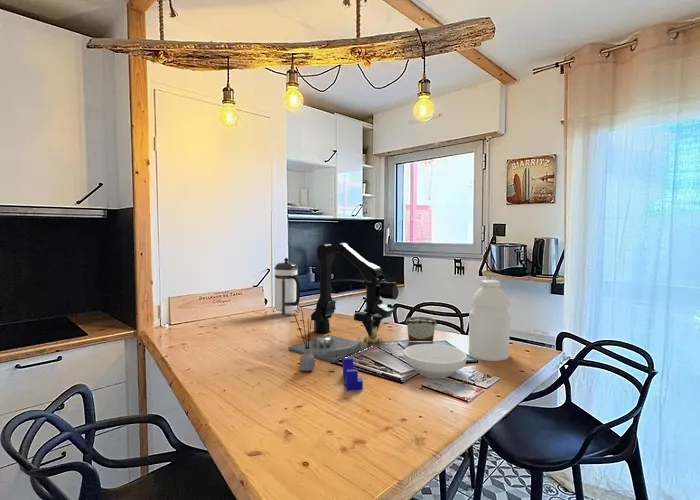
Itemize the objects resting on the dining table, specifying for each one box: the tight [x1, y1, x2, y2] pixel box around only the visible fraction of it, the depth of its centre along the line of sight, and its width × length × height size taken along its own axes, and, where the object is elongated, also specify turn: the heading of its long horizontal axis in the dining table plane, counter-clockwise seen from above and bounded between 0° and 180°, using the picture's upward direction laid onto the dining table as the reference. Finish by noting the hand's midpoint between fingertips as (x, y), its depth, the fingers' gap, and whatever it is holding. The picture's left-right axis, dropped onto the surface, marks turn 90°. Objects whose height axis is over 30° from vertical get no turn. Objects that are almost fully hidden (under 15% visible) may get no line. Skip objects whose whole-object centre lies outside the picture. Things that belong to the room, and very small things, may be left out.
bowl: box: [403, 343, 468, 379], centre depth 125 cm, size 20×20×7 cm
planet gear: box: [362, 325, 383, 344], centre depth 162 cm, size 8×8×6 cm
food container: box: [405, 316, 438, 343], centre depth 161 cm, size 12×6×10 cm, turn 84°
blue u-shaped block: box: [342, 356, 364, 392], centre depth 118 cm, size 12×4×6 cm, turn 6°
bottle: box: [467, 279, 511, 362], centre depth 142 cm, size 14×14×28 cm
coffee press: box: [272, 257, 301, 316], centre depth 215 cm, size 17×16×30 cm
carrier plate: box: [288, 334, 374, 364], centre depth 152 cm, size 23×23×4 cm
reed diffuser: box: [293, 308, 316, 372], centre depth 128 cm, size 10×7×20 cm
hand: (372, 334), depth 163 cm, fingers closed on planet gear, 4 cm apart
